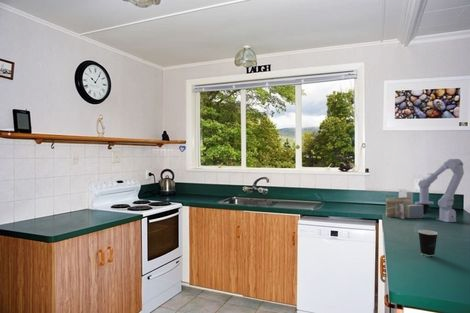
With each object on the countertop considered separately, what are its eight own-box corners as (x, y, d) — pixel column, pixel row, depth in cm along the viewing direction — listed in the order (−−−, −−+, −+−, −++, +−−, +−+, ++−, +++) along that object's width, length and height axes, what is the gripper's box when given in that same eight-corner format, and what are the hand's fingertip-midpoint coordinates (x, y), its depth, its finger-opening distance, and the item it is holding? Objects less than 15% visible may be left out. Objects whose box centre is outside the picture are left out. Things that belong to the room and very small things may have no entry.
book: (423, 217, 228) (423, 205, 228) (409, 218, 226) (409, 205, 226) (419, 216, 233) (419, 204, 232) (404, 216, 230) (405, 204, 230)
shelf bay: (418, 218, 226) (418, 199, 226) (394, 219, 222) (394, 199, 222) (409, 215, 235) (409, 197, 235) (385, 216, 232) (385, 197, 231)
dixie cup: (419, 251, 149) (420, 228, 149) (439, 255, 143) (439, 231, 143) (415, 255, 143) (415, 231, 143) (435, 259, 138) (436, 235, 137)
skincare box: (413, 211, 253) (413, 192, 253) (406, 211, 254) (406, 191, 254) (404, 207, 274) (404, 189, 274) (397, 206, 275) (398, 188, 275)
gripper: (428, 195, 236) (428, 212, 236) (411, 195, 233) (411, 213, 234) (435, 196, 229) (435, 214, 229) (418, 196, 227) (418, 215, 227)
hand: (423, 214), depth 231 cm, fingers closed
